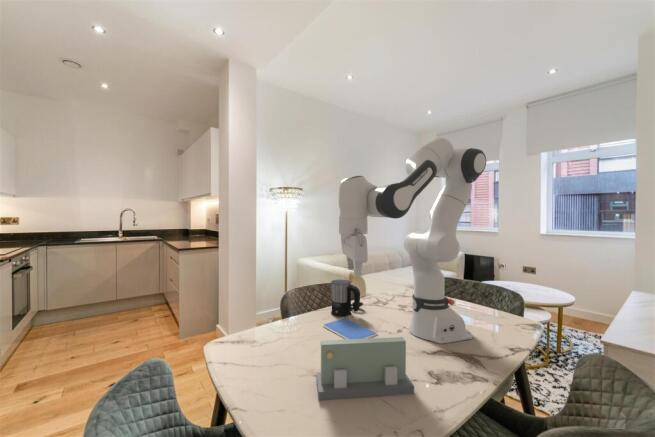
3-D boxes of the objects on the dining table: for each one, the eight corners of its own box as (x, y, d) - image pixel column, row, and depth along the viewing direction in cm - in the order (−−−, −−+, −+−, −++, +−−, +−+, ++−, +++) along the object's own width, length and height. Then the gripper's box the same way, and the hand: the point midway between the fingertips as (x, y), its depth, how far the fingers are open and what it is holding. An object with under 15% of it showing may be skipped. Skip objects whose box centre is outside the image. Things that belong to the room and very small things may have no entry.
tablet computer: (378, 336, 101) (378, 332, 101) (354, 346, 94) (354, 342, 94) (345, 320, 117) (345, 317, 117) (321, 327, 109) (321, 324, 109)
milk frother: (328, 316, 120) (328, 283, 120) (335, 305, 135) (335, 275, 135) (360, 319, 117) (360, 285, 117) (363, 307, 132) (364, 277, 132)
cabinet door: (402, 374, 72) (402, 337, 72) (407, 382, 69) (408, 343, 69) (320, 378, 70) (320, 340, 70) (322, 388, 66) (322, 347, 66)
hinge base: (401, 375, 75) (401, 353, 75) (414, 393, 67) (414, 370, 67) (316, 380, 73) (316, 358, 73) (318, 400, 65) (318, 375, 65)
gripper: (372, 229, 74) (373, 280, 74) (355, 226, 94) (356, 266, 94) (350, 230, 73) (351, 281, 73) (338, 227, 93) (338, 266, 93)
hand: (354, 272), depth 84 cm, fingers open, 8 cm apart
